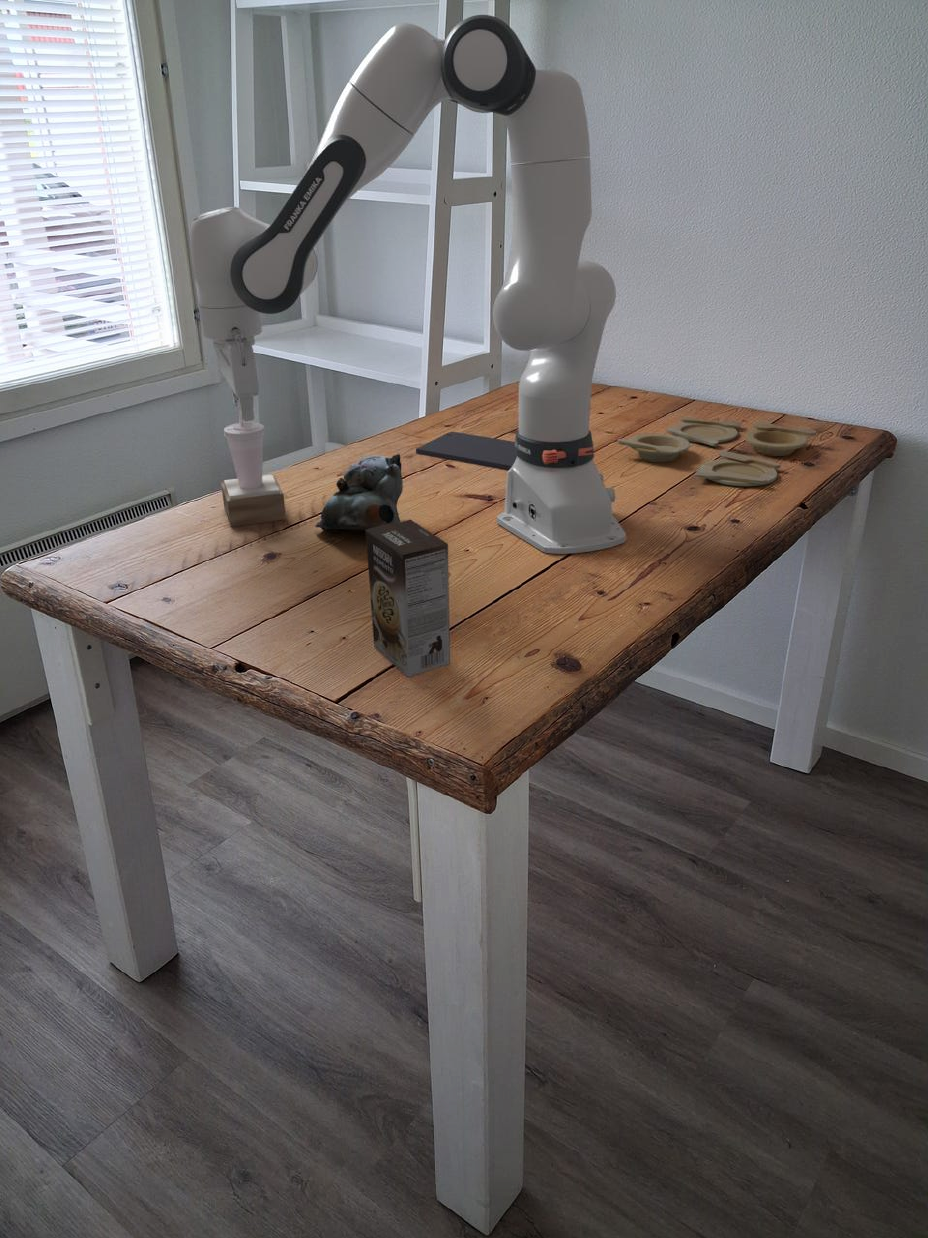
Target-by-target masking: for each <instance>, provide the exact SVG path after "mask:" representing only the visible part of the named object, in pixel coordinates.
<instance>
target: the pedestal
mask: <svg viewBox="0 0 928 1238" xmlns="http://www.w3.org/2000/svg"><path fill="white" fill-rule="evenodd" d="M220 486H221V493H222V499H223V500H222V501H223V507H224V512H225V514H226V517H227V519H228V523H229V526H230V527H231V528H232V527H240V526H247V525H254V524H261V523H268V522H276V521H284V520H285V521H286V520H287V515H286V514H287V513H286V504H285V495H284V492H283V490H282V488H281V487H280V484H279V482H278V480H277V478H276V476H273V474H264V475H263V474H262V486H260V487H258V488H254V489H243V488H241V487H240V486H239V482H238V478H232V479H224V480H223V482H220Z"/></svg>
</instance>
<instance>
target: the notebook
mask: <svg viewBox="0 0 928 1238" xmlns="http://www.w3.org/2000/svg"><path fill="white" fill-rule="evenodd" d="M415 454H416V455H422V456H427V457H432V458H438V459H444V460H448V461H455V462H459V463H465V464H471V465H475V466H482V467H488V468H491V469H498V470H504V471H507V472H508V471H509V470H510V468H511V467H512V466H513V464H514V462H515V460H516V458H517V455H516V453H515V441H511V440H508V439H507V440H506V439H499V438H494V437H488V436H481V435H475V434H469V433H464V432H463V433H462V432H457V431H449V432H446V433H444V434H443V435H440V436H439V437H437V438H434V439H433V440H431V441H428V442H426V443H425V444H423V445H420V446H419V447H417V448H415Z"/></svg>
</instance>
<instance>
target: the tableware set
mask: <svg viewBox="0 0 928 1238" xmlns="http://www.w3.org/2000/svg"><path fill="white" fill-rule="evenodd" d="M680 418H681V419H680V422H679V423H676V424H674V425H672V426H671V427H667V428H666V430H665V433H642V434H636V435H634V436H632V437H630V438H629V439H626V438H618V439H617V444H618V445H623V446H628V447H630V449H632V450H635V451H636V452H637V453H638V455H639V458H640V459H642V460H644V461H648V462H653V463H669V462H672V461H674V460H676V459H677V458H678V456H679V454H681V453H684V452H686V451H688V450H689V448H690V447H691V443H697V444H698V443H699V444H705V445H708V446H711V447H717V446H718V445H719V444H720V443H721V444H722V443H728V442H730V441H733V440H735V439H736V438H737V437H738V435H739V433H738V430H737V429H736V428H740V427H741V425H742V424H743V423H742V422H741V421H736V420H735V421H734V420H712V419H703V418H696V417H695V418H694V417H685V416H682V417H680ZM752 425H753V427H754V428H755V429H754V430H753V429H752V430H749V431H748V432H746V433H745V434H744V440H745V442H746V443H748V444H750V445H751V446H754V449H755V451H756V452H757V453H758V454H759V453H760V454H761V455H766V456H772V457H782V456H783V457H785V456H789V455H791V454H793V452H794V451H795V450H796V449H800V448H802V447H805V446H806V445H807V443H808V438H807V437H806V436H809V437H811V436H812V437H814V436H817V431H816V430H814V429H806V428H796V427H787V426H782V425H781V426H780V425H776V424H773V423H770V422H755V423H754V424H752ZM690 442H691V443H690ZM718 456H719V457H722V459H721V458H720V459H714V460H710V461H707V462H705V463H703V464H701V466H700V469H697V470H696V472H695V473H694V477H696V478H701V479H707V480H709V481H712V482H715V483H718V484H722V485H727V486H734V487H735V486H736V487H758V486H764V485H768V484H771V483H773V482H775V481H776V480H777V478H778V472H777V470H776V469H780V468H781V466H782V465H781V463H778V462H774V461H770V460H766V459H761V458H757V457H753V456H747V455H744V454H741V453H739V454H738V453H735V452H730V451H726V450H720V451H719V453H718Z"/></svg>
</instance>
